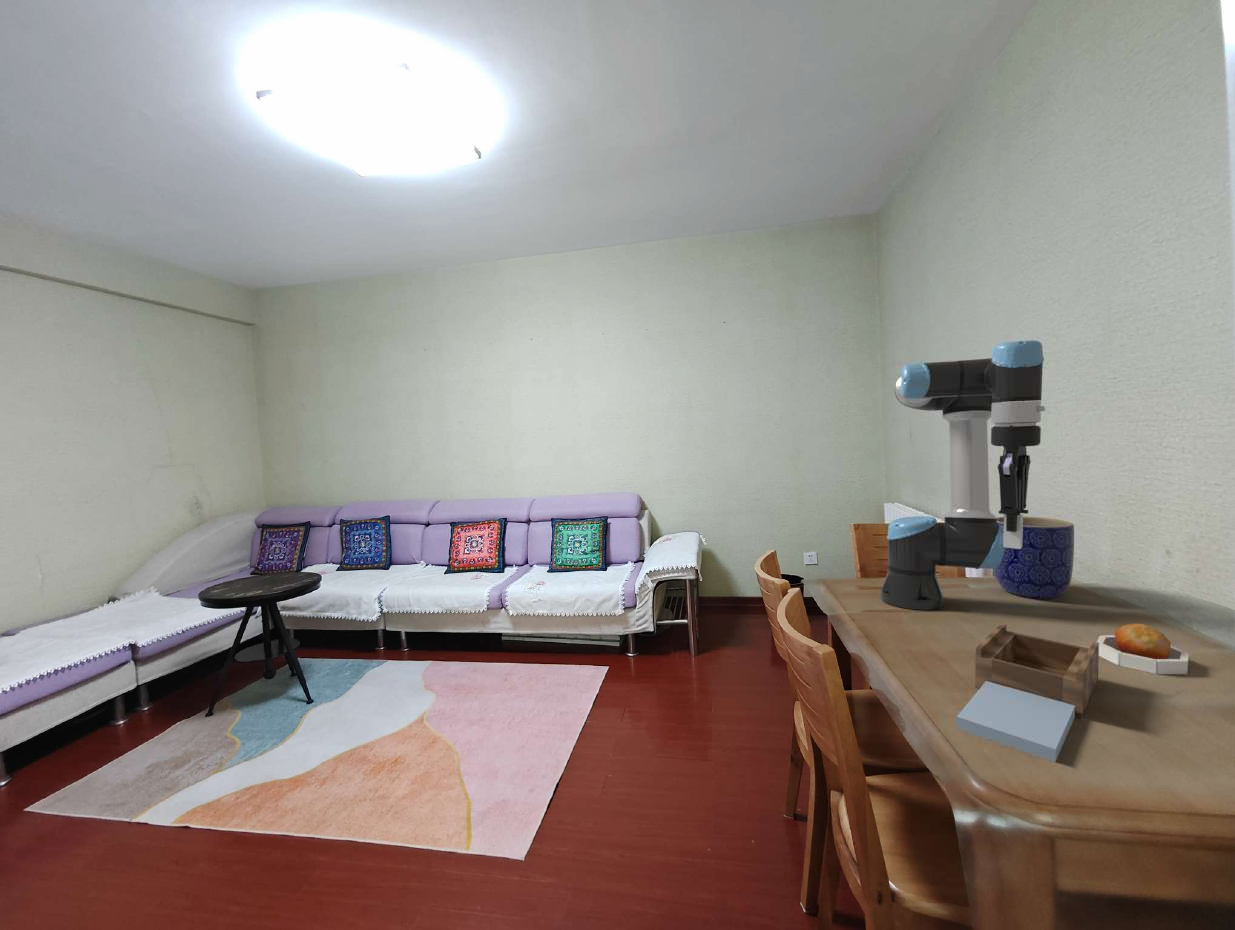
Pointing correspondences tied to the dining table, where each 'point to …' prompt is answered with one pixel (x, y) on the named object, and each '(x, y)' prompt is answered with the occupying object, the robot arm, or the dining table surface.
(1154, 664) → the fruit ring
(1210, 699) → the dining table surface
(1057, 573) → the planter
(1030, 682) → the box
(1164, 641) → the fruit
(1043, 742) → the lid
